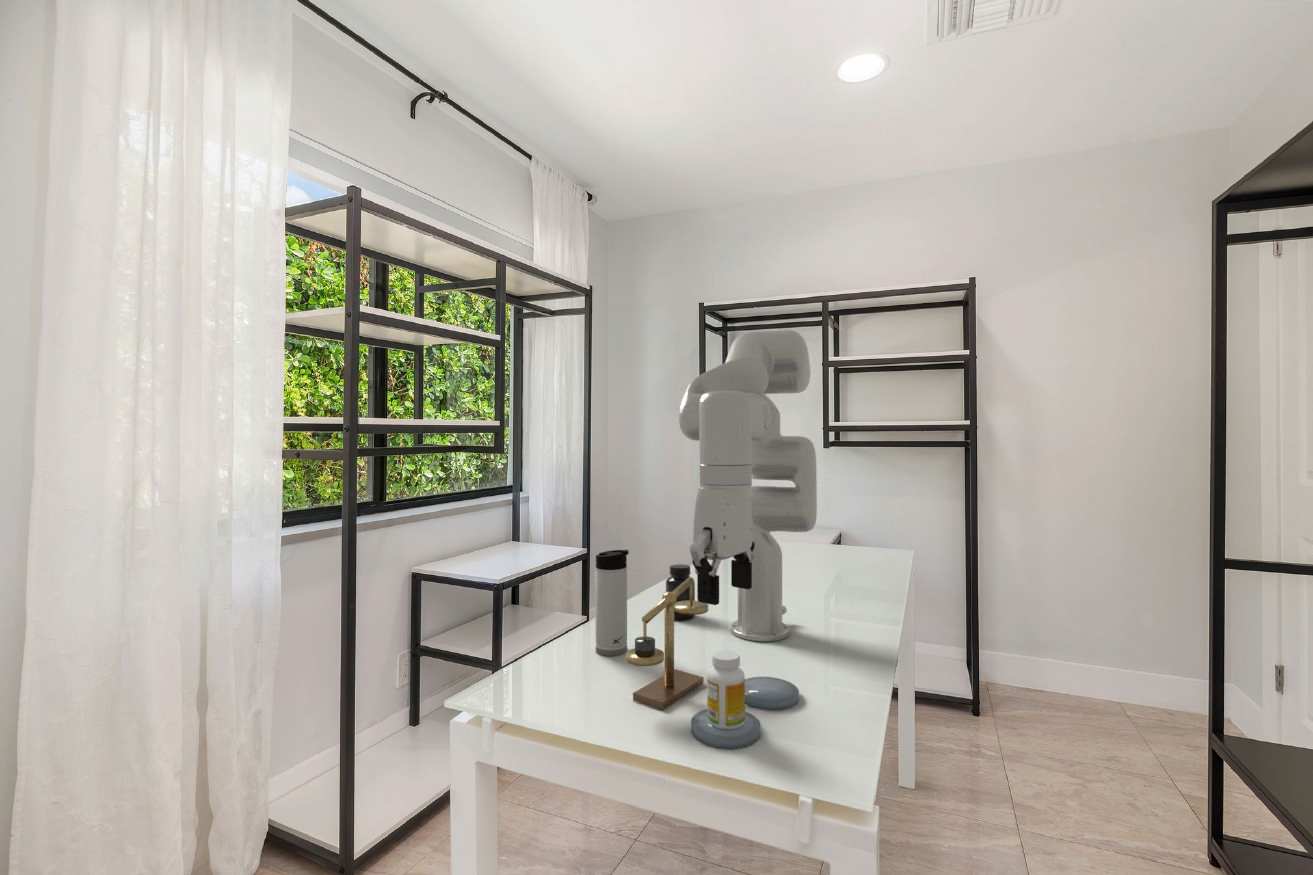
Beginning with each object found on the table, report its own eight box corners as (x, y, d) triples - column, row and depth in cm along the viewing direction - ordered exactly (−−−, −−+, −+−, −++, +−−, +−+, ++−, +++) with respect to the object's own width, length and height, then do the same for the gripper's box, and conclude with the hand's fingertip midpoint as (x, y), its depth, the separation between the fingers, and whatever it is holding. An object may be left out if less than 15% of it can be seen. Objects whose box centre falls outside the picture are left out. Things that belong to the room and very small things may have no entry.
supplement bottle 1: (700, 615, 141) (700, 565, 141) (685, 623, 135) (685, 570, 135) (675, 611, 144) (675, 561, 144) (660, 618, 139) (660, 567, 138)
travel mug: (624, 657, 114) (624, 553, 114) (591, 655, 115) (591, 552, 115) (632, 646, 120) (631, 547, 120) (600, 643, 122) (600, 546, 122)
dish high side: (753, 678, 104) (753, 671, 104) (808, 693, 98) (808, 685, 98) (725, 699, 96) (725, 691, 96) (783, 716, 90) (783, 708, 90)
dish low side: (713, 708, 93) (713, 700, 93) (772, 727, 87) (772, 718, 87) (677, 734, 85) (677, 726, 85) (740, 757, 79) (740, 747, 79)
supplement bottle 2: (747, 715, 88) (747, 650, 88) (741, 733, 83) (741, 663, 83) (712, 710, 89) (712, 646, 89) (703, 727, 84) (703, 659, 84)
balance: (686, 668, 109) (686, 571, 108) (714, 676, 105) (714, 575, 105) (618, 708, 93) (617, 594, 93) (648, 719, 89) (648, 600, 89)
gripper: (731, 472, 95) (731, 579, 95) (670, 479, 81) (670, 605, 81) (774, 474, 91) (775, 586, 91) (718, 482, 76) (718, 614, 77)
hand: (725, 594), depth 86 cm, fingers open, 9 cm apart
